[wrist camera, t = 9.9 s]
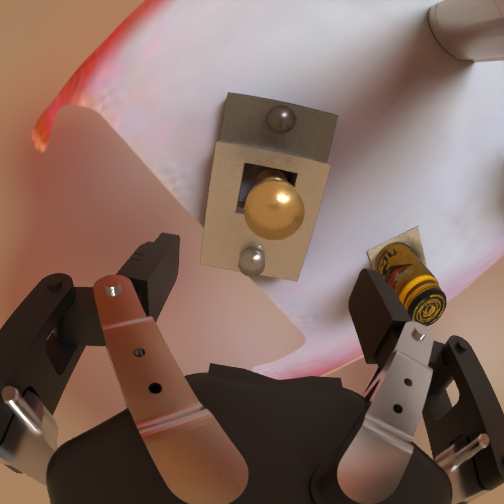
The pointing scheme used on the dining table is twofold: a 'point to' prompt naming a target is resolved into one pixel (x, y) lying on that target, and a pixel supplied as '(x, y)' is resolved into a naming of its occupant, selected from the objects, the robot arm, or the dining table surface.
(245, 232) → the slotted plate with knobs
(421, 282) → the yellow jar
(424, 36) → the dining table surface
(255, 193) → the brass pin
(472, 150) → the dining table surface
